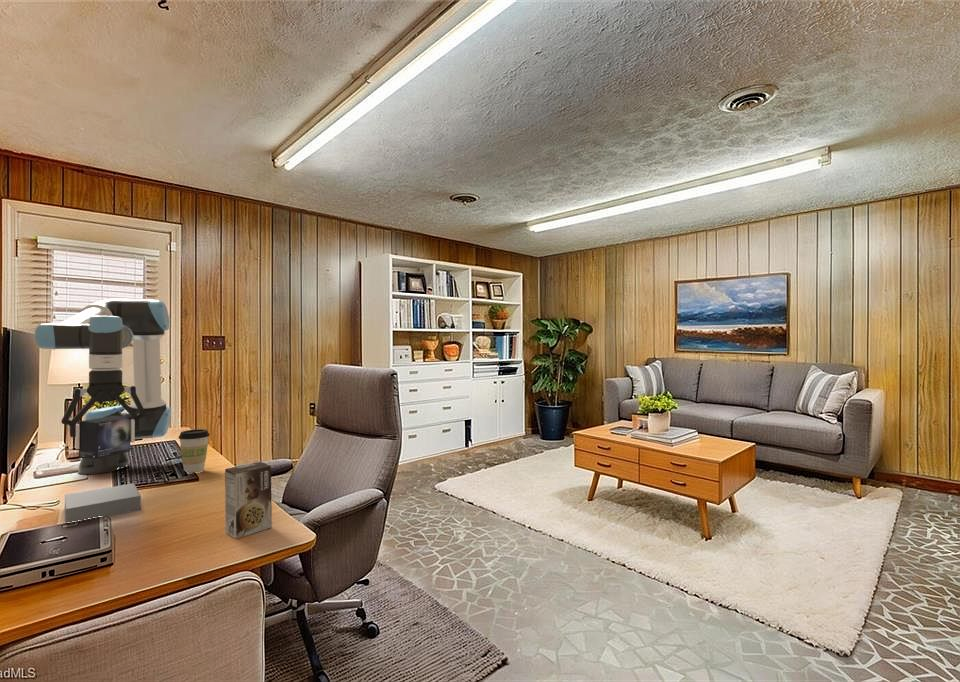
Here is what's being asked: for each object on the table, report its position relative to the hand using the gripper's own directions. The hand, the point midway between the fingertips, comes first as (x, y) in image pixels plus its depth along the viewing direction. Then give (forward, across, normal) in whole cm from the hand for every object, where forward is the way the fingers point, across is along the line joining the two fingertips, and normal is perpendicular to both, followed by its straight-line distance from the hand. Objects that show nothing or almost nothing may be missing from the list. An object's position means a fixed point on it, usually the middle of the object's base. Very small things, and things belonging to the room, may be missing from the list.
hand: (105, 445), depth 134 cm
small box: (+3, 0, 0) cm, 3 cm away
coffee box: (+18, +25, -45) cm, 55 cm away
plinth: (+18, -1, 0) cm, 18 cm away
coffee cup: (+18, +28, +27) cm, 43 cm away
